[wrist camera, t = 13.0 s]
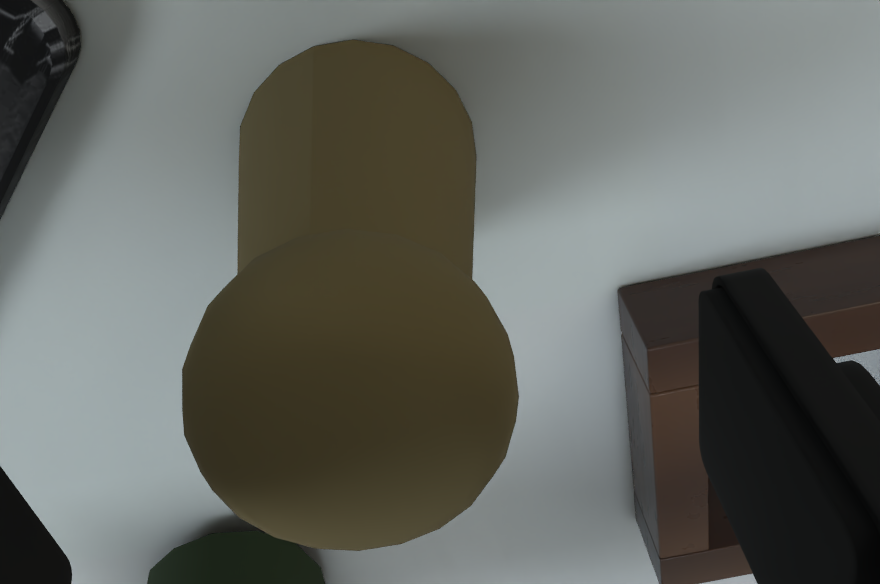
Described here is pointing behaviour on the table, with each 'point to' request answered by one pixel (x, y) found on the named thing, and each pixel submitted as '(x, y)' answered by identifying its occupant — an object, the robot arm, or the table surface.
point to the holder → (677, 393)
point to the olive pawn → (352, 312)
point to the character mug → (237, 561)
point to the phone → (31, 78)
